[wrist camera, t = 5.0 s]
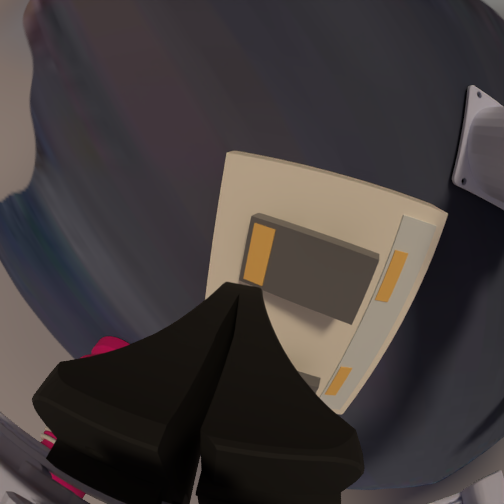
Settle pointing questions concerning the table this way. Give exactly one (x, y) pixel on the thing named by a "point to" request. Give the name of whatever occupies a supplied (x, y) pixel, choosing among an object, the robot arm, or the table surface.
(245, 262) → the block
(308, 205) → the switch console
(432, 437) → the table surface
